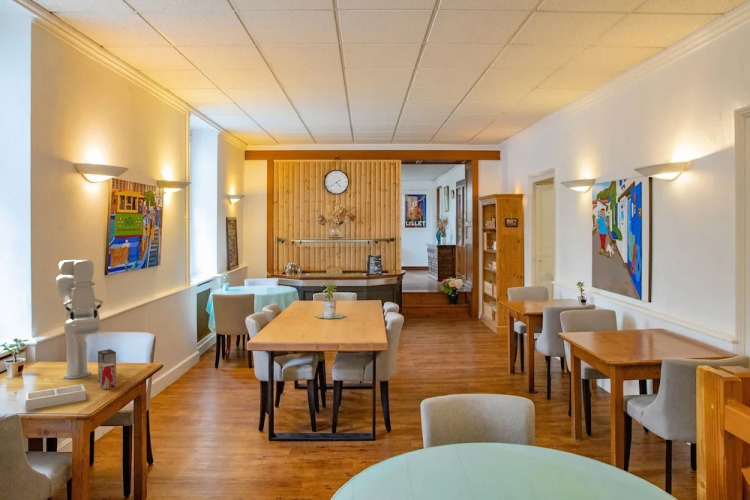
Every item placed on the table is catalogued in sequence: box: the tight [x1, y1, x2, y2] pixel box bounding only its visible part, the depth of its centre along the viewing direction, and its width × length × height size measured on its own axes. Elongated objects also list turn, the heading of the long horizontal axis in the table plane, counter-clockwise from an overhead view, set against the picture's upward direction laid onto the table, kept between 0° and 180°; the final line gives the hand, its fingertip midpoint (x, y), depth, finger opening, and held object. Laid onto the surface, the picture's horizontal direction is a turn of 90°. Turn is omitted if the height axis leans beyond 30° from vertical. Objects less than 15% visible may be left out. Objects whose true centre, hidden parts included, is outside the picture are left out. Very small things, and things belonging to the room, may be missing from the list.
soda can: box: [100, 363, 117, 390], centre depth 251 cm, size 7×7×12 cm
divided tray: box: [25, 383, 87, 411], centre depth 231 cm, size 12×23×4 cm, turn 126°
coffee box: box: [97, 348, 117, 383], centre depth 261 cm, size 9×6×16 cm
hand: (83, 319), depth 250 cm, fingers open, 9 cm apart
